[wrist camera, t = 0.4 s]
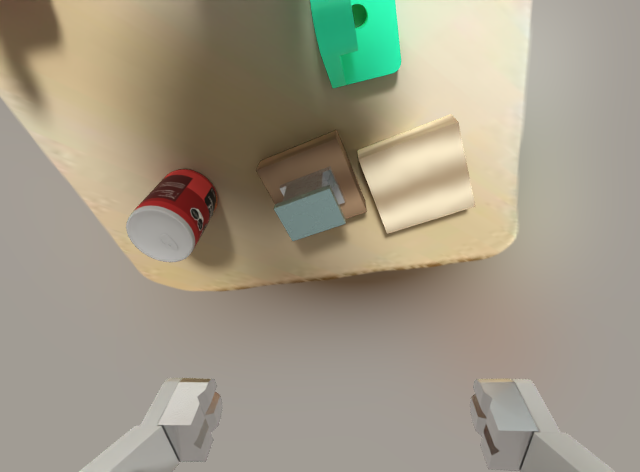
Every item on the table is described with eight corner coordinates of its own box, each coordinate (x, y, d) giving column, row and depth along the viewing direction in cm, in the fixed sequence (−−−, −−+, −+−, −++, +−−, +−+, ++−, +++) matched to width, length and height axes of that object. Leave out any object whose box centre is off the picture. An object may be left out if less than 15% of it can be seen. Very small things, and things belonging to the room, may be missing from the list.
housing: (280, 185, 45) (273, 208, 40) (330, 166, 43) (329, 188, 39) (297, 215, 48) (292, 241, 43) (344, 198, 46) (345, 223, 41)
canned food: (204, 224, 53) (177, 272, 44) (154, 195, 50) (115, 239, 41) (229, 189, 49) (205, 234, 40) (177, 156, 47) (139, 196, 38)
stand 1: (260, 161, 47) (255, 170, 44) (336, 129, 44) (336, 138, 41) (295, 224, 52) (293, 236, 50) (365, 200, 49) (366, 211, 47)
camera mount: (398, 66, 40) (415, 87, 31) (332, 83, 41) (332, 107, 32) (384, -70, 33) (400, -89, 25) (306, -44, 34) (296, -55, 26)
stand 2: (357, 150, 45) (358, 159, 43) (451, 114, 42) (458, 121, 40) (384, 222, 51) (387, 233, 49) (468, 195, 48) (475, 206, 46)
